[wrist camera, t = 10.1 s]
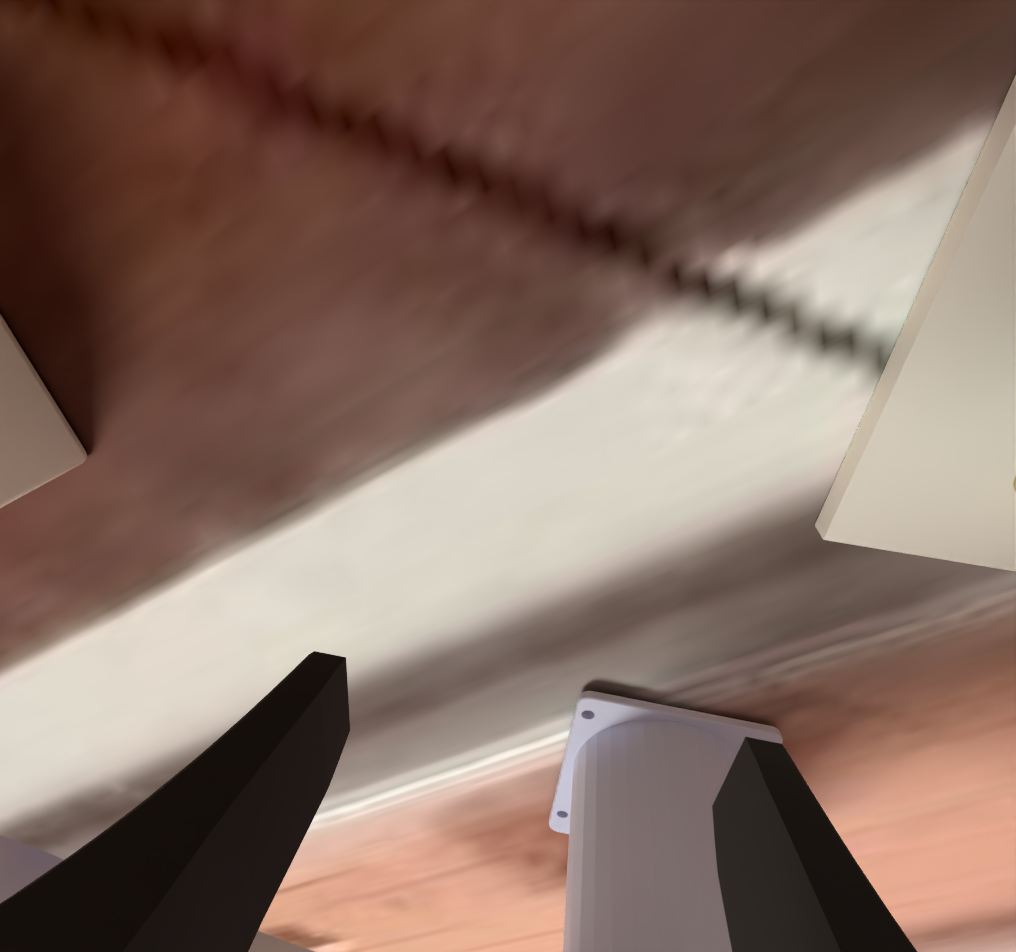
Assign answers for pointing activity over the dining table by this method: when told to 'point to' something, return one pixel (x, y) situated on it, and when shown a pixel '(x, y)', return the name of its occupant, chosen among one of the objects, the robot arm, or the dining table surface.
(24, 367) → the medicine bottle
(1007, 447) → the cream peg board
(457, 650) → the dining table surface
